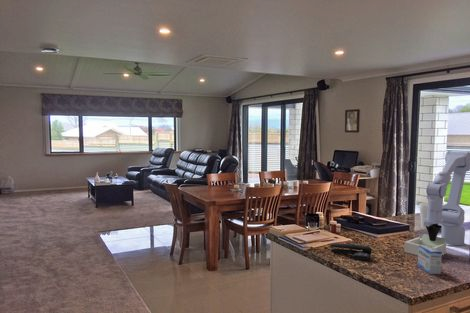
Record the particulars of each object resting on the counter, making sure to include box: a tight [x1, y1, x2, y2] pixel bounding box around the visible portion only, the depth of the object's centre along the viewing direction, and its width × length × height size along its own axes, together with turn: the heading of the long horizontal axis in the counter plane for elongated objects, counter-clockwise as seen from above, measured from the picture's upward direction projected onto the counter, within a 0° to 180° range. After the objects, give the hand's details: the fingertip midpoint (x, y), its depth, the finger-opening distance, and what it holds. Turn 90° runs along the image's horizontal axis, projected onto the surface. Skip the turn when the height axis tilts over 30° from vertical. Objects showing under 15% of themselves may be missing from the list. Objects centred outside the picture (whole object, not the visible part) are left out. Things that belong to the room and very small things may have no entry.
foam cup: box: [418, 202, 428, 230], centre depth 200 cm, size 10×9×13 cm
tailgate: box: [420, 233, 446, 247], centre depth 162 cm, size 2×9×5 cm
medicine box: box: [417, 244, 443, 275], centre depth 138 cm, size 8×4×9 cm, turn 5°
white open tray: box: [404, 237, 447, 257], centre depth 158 cm, size 12×12×4 cm
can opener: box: [329, 243, 373, 261], centre depth 154 cm, size 18×7×6 cm, turn 51°
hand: (432, 240), depth 162 cm, fingers closed, pressing on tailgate
